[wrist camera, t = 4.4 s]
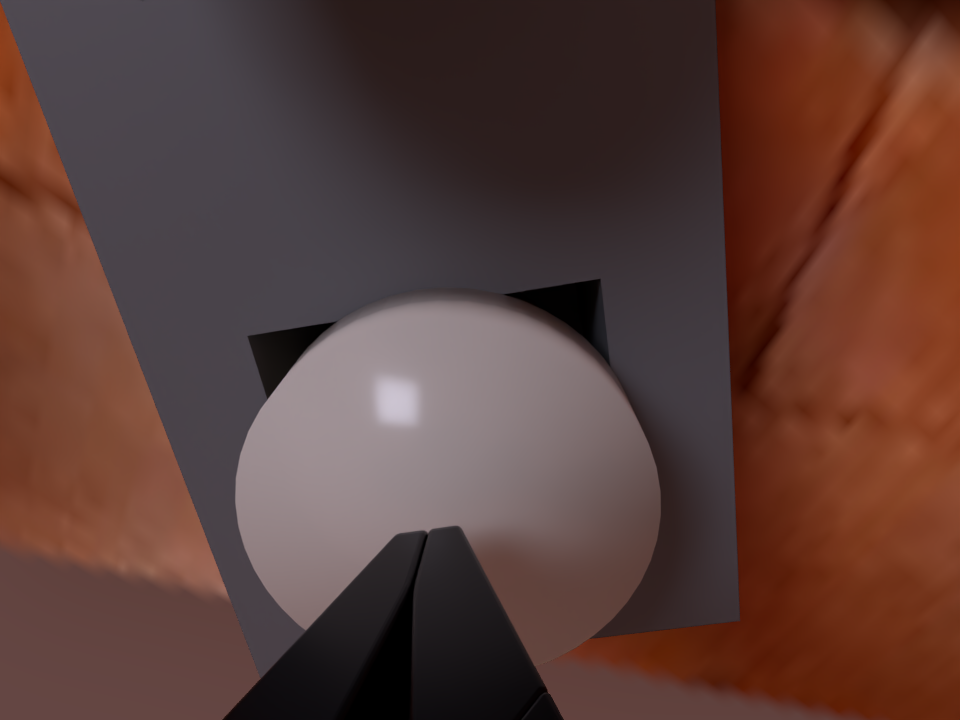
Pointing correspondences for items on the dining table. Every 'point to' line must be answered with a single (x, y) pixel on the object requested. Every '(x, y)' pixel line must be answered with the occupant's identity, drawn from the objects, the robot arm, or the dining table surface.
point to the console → (406, 217)
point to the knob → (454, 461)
